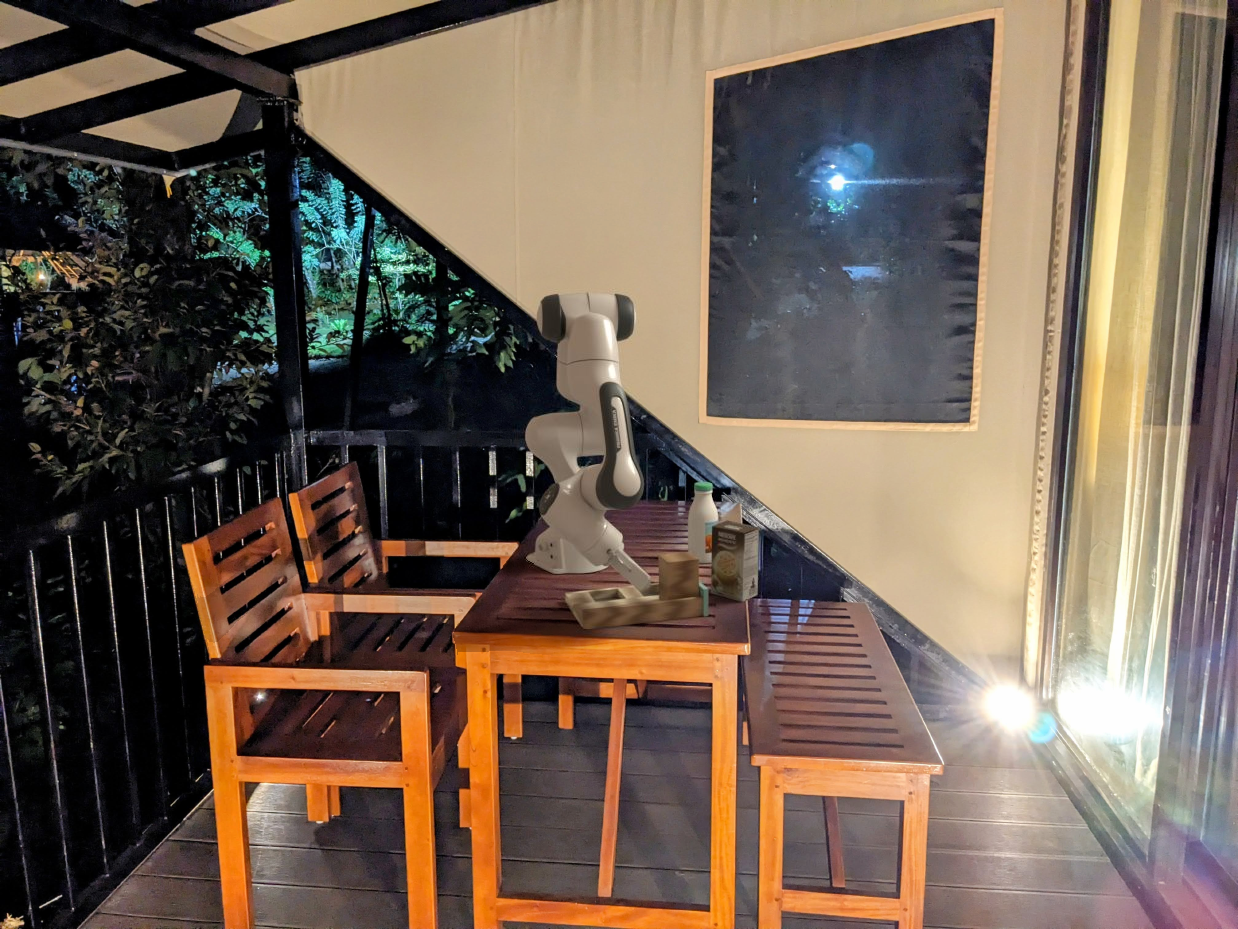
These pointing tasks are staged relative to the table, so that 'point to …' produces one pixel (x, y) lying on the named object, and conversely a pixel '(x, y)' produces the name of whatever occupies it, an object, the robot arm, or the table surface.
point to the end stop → (704, 598)
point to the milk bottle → (702, 522)
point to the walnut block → (678, 576)
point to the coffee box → (734, 560)
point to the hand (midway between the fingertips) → (647, 584)
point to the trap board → (628, 606)
